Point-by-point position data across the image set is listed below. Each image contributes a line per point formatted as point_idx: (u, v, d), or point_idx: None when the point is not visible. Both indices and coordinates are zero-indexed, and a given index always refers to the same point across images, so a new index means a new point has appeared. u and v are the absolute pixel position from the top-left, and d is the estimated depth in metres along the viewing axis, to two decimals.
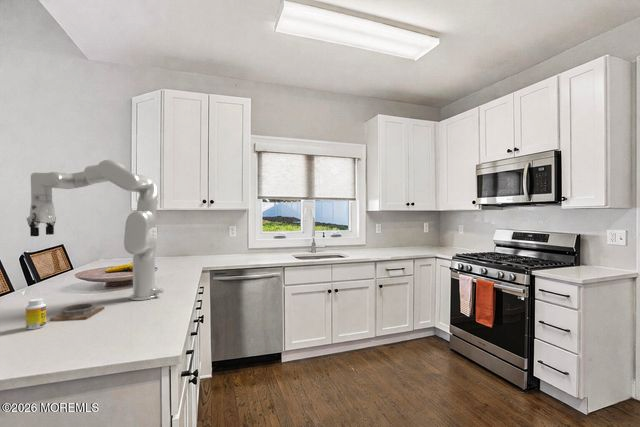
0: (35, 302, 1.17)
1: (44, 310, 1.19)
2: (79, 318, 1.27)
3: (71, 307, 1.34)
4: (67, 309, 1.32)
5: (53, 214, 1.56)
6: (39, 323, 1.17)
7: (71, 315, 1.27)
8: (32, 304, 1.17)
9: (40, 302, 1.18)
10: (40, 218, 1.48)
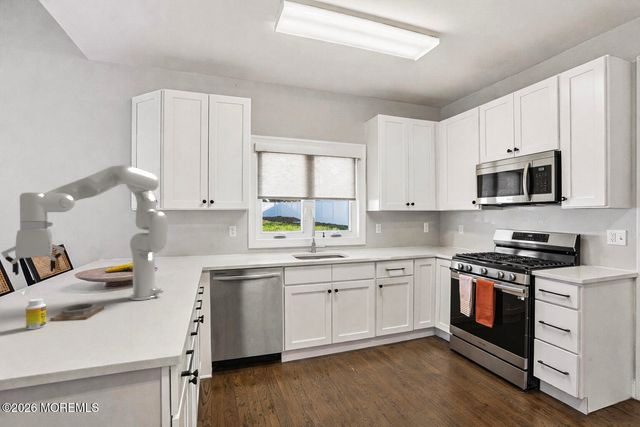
0: (35, 302, 1.17)
1: (44, 310, 1.19)
2: (79, 318, 1.27)
3: (71, 307, 1.34)
4: (67, 309, 1.32)
5: None
6: (39, 323, 1.17)
7: (71, 315, 1.27)
8: (32, 304, 1.17)
9: (40, 302, 1.18)
10: None
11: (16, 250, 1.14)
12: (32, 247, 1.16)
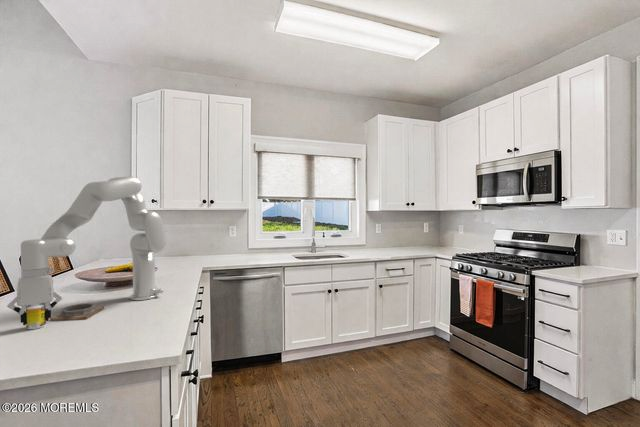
0: None
1: (44, 310, 1.19)
2: (79, 318, 1.27)
3: (71, 307, 1.34)
4: (67, 309, 1.32)
5: None
6: (39, 323, 1.17)
7: (71, 315, 1.27)
8: None
9: None
10: None
11: (17, 299, 1.14)
12: (33, 295, 1.16)
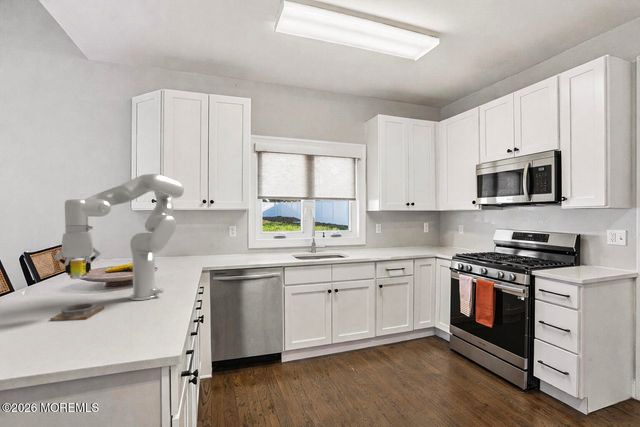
0: None
1: (85, 263, 1.33)
2: (79, 318, 1.27)
3: (71, 307, 1.34)
4: (67, 309, 1.32)
5: None
6: (81, 274, 1.31)
7: (71, 315, 1.27)
8: None
9: None
10: None
11: (63, 251, 1.28)
12: (76, 248, 1.30)
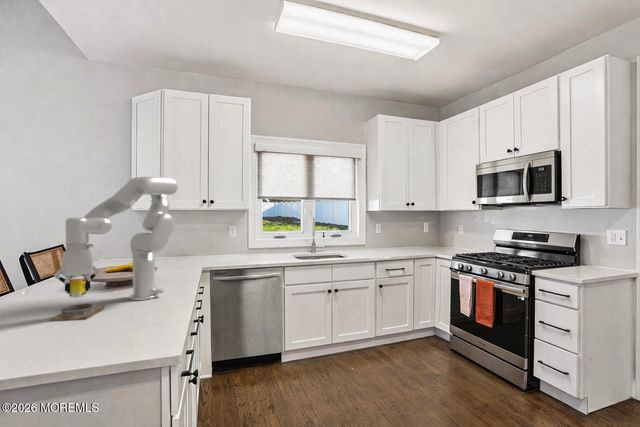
0: None
1: (85, 281, 1.33)
2: (79, 318, 1.27)
3: (71, 307, 1.34)
4: (67, 309, 1.32)
5: None
6: (80, 292, 1.31)
7: (71, 315, 1.27)
8: None
9: None
10: None
11: (63, 270, 1.28)
12: (76, 266, 1.30)
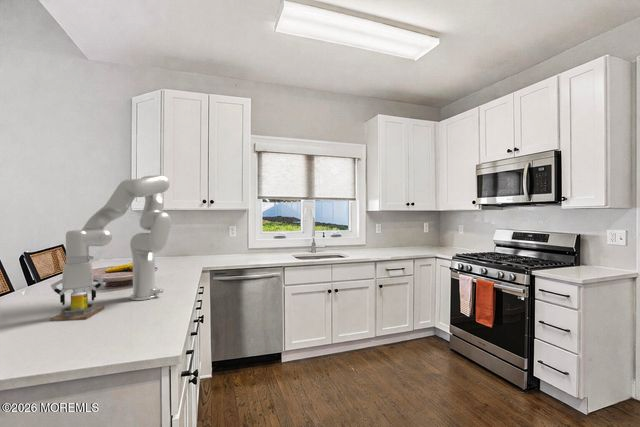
0: (79, 289, 1.31)
1: (86, 297, 1.33)
2: (79, 318, 1.27)
3: None
4: (67, 309, 1.32)
5: None
6: (82, 308, 1.31)
7: (71, 315, 1.27)
8: (76, 291, 1.31)
9: (83, 289, 1.32)
10: None
11: (63, 283, 1.28)
12: (76, 279, 1.30)
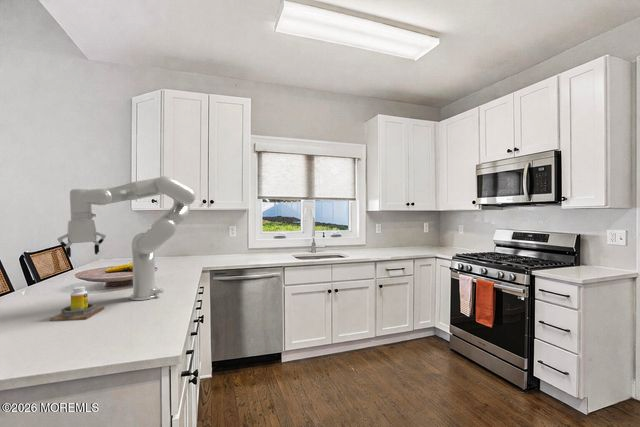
0: (79, 289, 1.31)
1: (86, 297, 1.33)
2: (79, 318, 1.27)
3: None
4: (67, 309, 1.32)
5: None
6: (82, 308, 1.31)
7: (71, 315, 1.27)
8: (76, 291, 1.31)
9: (83, 289, 1.32)
10: None
11: (69, 236, 1.38)
12: (81, 234, 1.41)
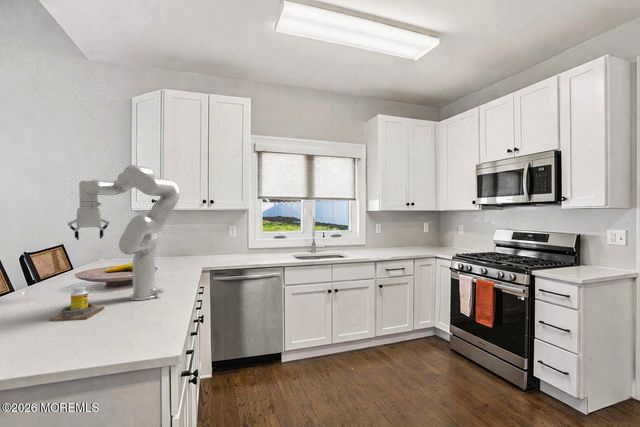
0: (79, 289, 1.31)
1: (86, 297, 1.33)
2: (79, 318, 1.27)
3: None
4: (67, 309, 1.32)
5: None
6: (82, 308, 1.31)
7: (71, 315, 1.27)
8: (76, 291, 1.31)
9: (83, 289, 1.32)
10: None
11: (77, 222, 1.59)
12: (88, 220, 1.62)
